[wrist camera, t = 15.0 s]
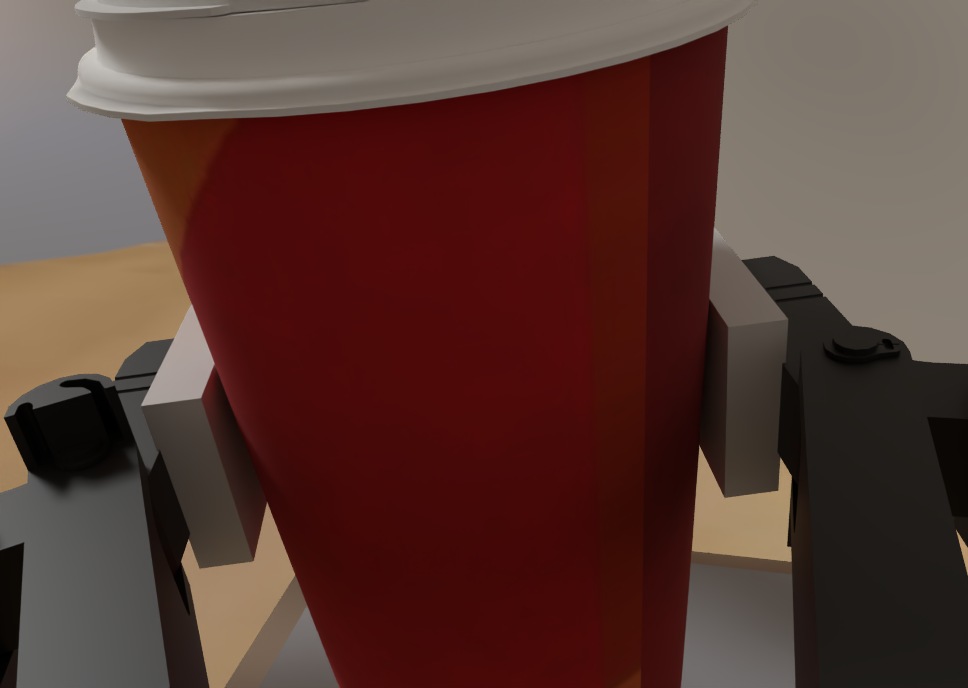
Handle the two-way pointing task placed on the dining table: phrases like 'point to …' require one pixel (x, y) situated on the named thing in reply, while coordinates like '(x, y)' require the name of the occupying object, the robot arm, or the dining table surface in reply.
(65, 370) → the dining table surface
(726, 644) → the plinth
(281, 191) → the paper cup
